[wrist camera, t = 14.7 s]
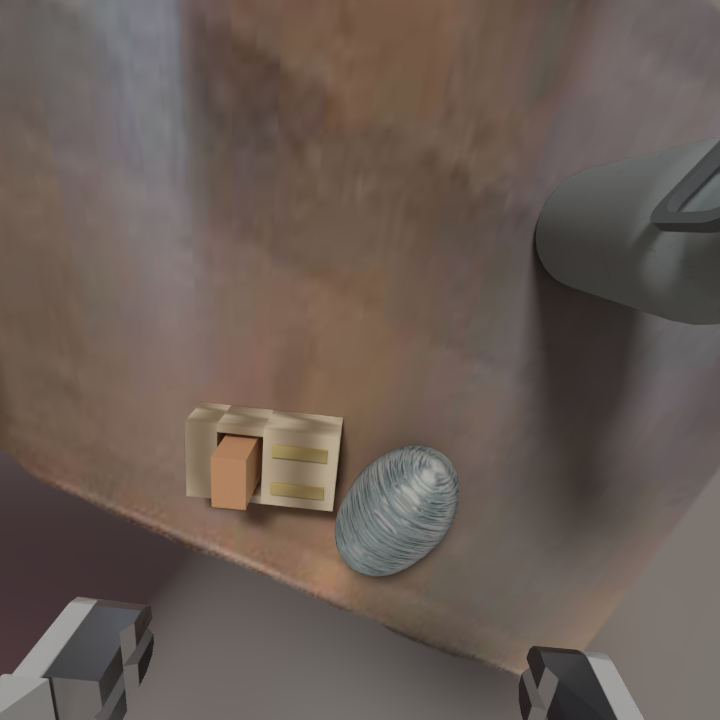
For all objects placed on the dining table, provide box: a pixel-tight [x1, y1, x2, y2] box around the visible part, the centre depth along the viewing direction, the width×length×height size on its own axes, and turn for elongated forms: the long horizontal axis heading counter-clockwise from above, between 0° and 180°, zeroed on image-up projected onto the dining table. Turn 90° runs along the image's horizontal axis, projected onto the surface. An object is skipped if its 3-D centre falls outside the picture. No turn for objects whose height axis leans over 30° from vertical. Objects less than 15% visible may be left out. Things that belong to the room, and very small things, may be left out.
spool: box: [335, 446, 459, 577], centre depth 40 cm, size 14×10×10 cm
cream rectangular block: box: [185, 402, 343, 511], centre depth 41 cm, size 14×8×4 cm, turn 84°
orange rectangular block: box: [211, 433, 263, 510], centre depth 40 cm, size 3×5×7 cm, turn 175°
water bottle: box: [536, 137, 720, 325], centre depth 22 cm, size 10×10×28 cm
